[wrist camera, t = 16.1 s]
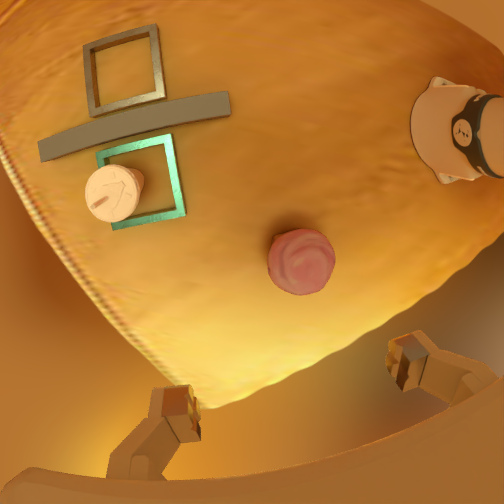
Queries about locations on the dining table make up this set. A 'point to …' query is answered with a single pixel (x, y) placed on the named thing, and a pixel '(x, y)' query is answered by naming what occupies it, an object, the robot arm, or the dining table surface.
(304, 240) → the cupcake
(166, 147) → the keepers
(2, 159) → the dining table surface
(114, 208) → the smoothie
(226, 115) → the door edge
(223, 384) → the dining table surface
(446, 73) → the dining table surface
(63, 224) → the dining table surface
